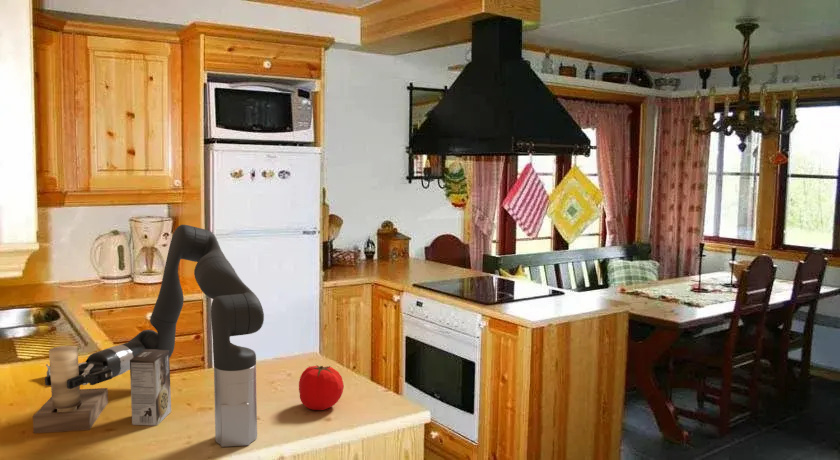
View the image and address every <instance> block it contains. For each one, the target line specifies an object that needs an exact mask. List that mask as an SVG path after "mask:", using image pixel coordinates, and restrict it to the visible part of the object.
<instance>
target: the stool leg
mask: <svg viewBox="0 0 840 460" xmlns="http://www.w3.org/2000/svg"><path fill="white" fill-rule="evenodd" d="M78 351H79V350H78V346H76V345H61V346H56V347H53V348H50V349H49V350H48V356H49V357H48V358H49V360H48V361H49V366H50V376H51V385H50V387H51V397H52V407H53V408H55V409H57V412H72V411H76V410H77V406H78V405H79V404H80V403H81V399H80V389H81V388H80V386H81V385H80V386H77V387H75V388H72V389H68V388H67V380H68V379H71V378H74V377H76V376H79V365H78V364H79V353H78Z"/></svg>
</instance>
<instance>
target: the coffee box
mask: <svg viewBox="0 0 840 460" xmlns="http://www.w3.org/2000/svg"><path fill="white" fill-rule="evenodd" d="M170 365H171V364H170V358H169V350H156V349H145V350H143V351H142V352H140V353H139V354H138V355H136V356H135V357H133V358H132V359H131V360H130V370H129V372H130V373H129V375H130V377H129V378H130V397H131V398H130V401H131V402H130V404H131V425H133V426H155V427H156V426H158V425H159V424H160V423H161V422H163V420H164V419H165V418H166V417H168V415H170V413H171V412H172V399H171V398H172V397H171V393H172V392H171V370H170V369H171V368H170V367H171V366H170Z"/></svg>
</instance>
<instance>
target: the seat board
mask: <svg viewBox="0 0 840 460" xmlns="http://www.w3.org/2000/svg"><path fill="white" fill-rule="evenodd" d="M108 391H109V390H108V387H101V388H100V387H99V388H84V389H83V388H80V399H81V403H80V404H79V405H78V406H77V410H76V411H72V412H57V409H55V408H53V407H52V396H51V397H49V399H47V400H46V402H45V403H44V404H43V405H42V406H41V407H40V408H39V410H37V411H36V413H34V415H32V425H33V426H32V427H33V434H40V433H41V434H42V433H57V432H61V433H62V432H73V431H76V432H77V431H89V430H90V429H91V428H92V427H93V425H94V424H95V423H96V421H97V420H98V418H99V417H100V416H101V414H102V412H104V409H105V408H106V406H107V405H108V404H109V397H108V396H109V392H108Z"/></svg>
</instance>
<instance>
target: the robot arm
mask: <svg viewBox="0 0 840 460" xmlns="http://www.w3.org/2000/svg"><path fill="white" fill-rule="evenodd" d="M169 243H170V244H169V248H168V252H167V256H166V261H165V264H164V265H165V266H164V269H163V275H162V279H161V285H160V290H159V292H158V296H157V298H156V301H155V304H154V307H153V309H152V312H151V314H150V319H149V323H150V324H151V326H152V327H153V328H154V329H155V330H156V331H155V330H152V329H144V330H141V331H140V332H139V333H138V334H137V335H135V336H134V337H133V338H131V339H130V340H129V341H128V342H125V343H122V344H119V345H115V346H114V345H113V346H111V347H108V348H105V349H103V350H102V349H101V350H99V351H95V352H94V353H91V354H90V355H89V356H88V357H87V359H86V360H85V361H84V362H78V365H79V376H76V377H74V378H71V379H68V380H67V388H68V389H72V388H75V387H77V386H86V385H88V384H89V386H94V385H97V384H101V383H103V382H106V381H108V380H112V379H113V378H116V377H118V376H121V375H123V374H125V373H126V372H127V371H130V360H131V359H132V358H133V357H135V356H136V355H138V354H139V353H140V352H142V351H143V350H145V349H156V350H169V359H170V358H171V356H172V355H173V353H174V350H175V344H176V333H177V332H176V329H177V324H178V320H179V317H180V314H181V312H182V309H183V306H184V301H185V300H184V292H183V288H182V285H181V281H180V276H179V275H180V274H179V266H180V262H181V260H185V261H190V262H194V263H196V264H195V267H194V270H193V271H194V272H193V274H194V275H193V276H194V279H195V281H196V283H197V285H198V287H199V288H200V291H201V292H203V294H204V295H206V297H208V298H210V299H211V300H212V301H211V305H210V321H211V322H210V323H211V324H210V325H211V334H212V336H211V337H212V354H213V376H214V377H213V380H214V381H213V384H214V386H213V387H214V389H213V390H214V433H215V434H214V435H215V436H214V437H215V442H216V443H217V444H219V446H220V447H221V448H226V447H238V446H239V447H241V446H242V447H243V446H250V445H251V443H252V442H254V441H255V440H257V438H258V407H257V406H258V405H257V403H258V402H257V401H258V400H257V395H258V394H257V354H256V352H255V351H254V350H253V349H251V348H249V347H245V346H240V345H237V344H234V343H232V342H231V337H236V336H237V337H238V336H245V335H252V334H254V333H257V332H258V331H260V330H261V329H262V327H263V325H264V321H265V313H264V309H263V307H262V303H261V301H260V299H259V298H258V296H257V295H256V294H255V292H253V290H251V289H250V288H249V286H247V285H246V284H245V283H244V282H243V280H242V279H241V278H240V277H239V275H238V274H237V272H236V269H235V268H234V267H233V266H232V264H231V263H230V261H229V260H228V259H227V257H226V256H225V254H224V253H223V250H222V248H221V246H220V244H219V241H218V239H217V236H216V235H215V234H214V233H213V232H212V231H210V230H208V229H206V228H201V227H197V226H192V225H188V224H180V225H178V226H177V227H176V229H175V230H174V232H173V234H172V236H171V240H170V242H169ZM44 385H45V386H47V387H49V386H50V387H51V376H50V375H49V376H47V375H46V376H45V377H44Z"/></svg>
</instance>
